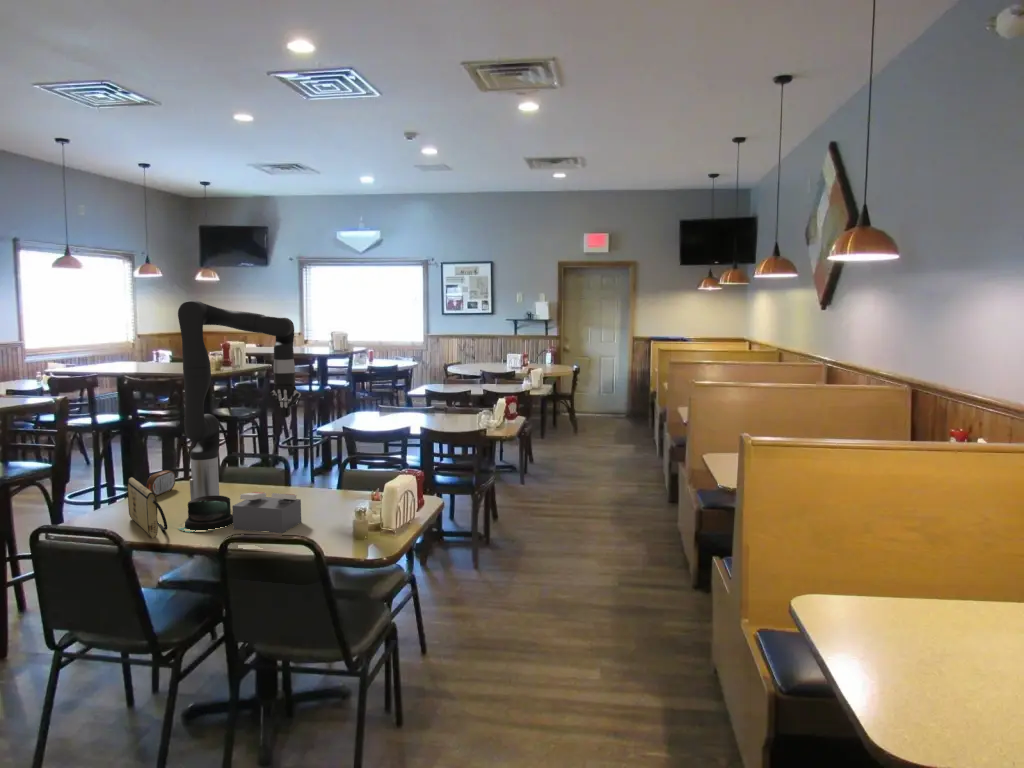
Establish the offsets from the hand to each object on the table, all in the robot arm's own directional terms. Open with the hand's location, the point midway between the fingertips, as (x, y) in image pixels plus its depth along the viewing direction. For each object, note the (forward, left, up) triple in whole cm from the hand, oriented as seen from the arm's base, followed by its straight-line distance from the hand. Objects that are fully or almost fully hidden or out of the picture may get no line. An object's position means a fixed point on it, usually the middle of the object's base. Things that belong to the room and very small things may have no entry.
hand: (285, 417), depth 260 cm
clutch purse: (-40, -27, -32) cm, 58 cm away
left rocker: (-6, -30, -22) cm, 37 cm away
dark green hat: (-21, -26, -33) cm, 47 cm away
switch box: (-1, -31, -32) cm, 45 cm away
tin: (-51, +16, -32) cm, 63 cm away
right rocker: (+5, -31, -22) cm, 39 cm away
